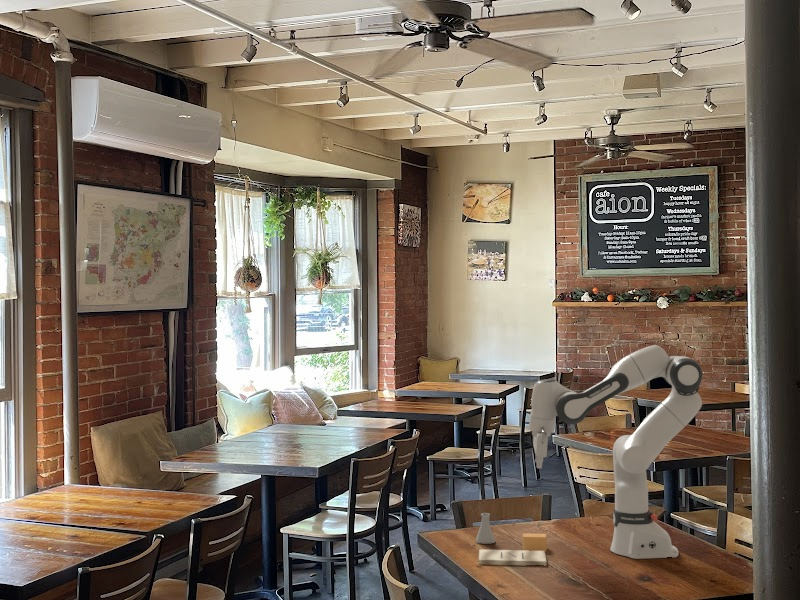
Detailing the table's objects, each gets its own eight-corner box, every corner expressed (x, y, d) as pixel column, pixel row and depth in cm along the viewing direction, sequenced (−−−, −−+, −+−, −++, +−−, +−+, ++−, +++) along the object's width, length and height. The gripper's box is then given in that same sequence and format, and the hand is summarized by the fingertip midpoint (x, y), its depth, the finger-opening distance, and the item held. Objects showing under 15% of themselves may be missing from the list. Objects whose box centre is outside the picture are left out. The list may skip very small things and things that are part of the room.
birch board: (544, 555, 316) (544, 550, 316) (546, 565, 304) (546, 561, 304) (479, 553, 318) (479, 549, 318) (478, 564, 306) (478, 559, 306)
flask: (494, 545, 329) (494, 516, 328) (474, 544, 330) (474, 516, 330) (496, 539, 336) (496, 512, 336) (476, 538, 337) (476, 511, 337)
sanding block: (545, 548, 325) (545, 533, 325) (546, 551, 321) (546, 537, 321) (522, 547, 326) (522, 533, 326) (523, 551, 321) (523, 536, 321)
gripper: (553, 431, 312) (549, 472, 312) (549, 422, 332) (545, 460, 332) (534, 429, 312) (530, 470, 313) (531, 420, 332) (528, 458, 333)
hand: (538, 465), depth 323 cm, fingers open, 8 cm apart
